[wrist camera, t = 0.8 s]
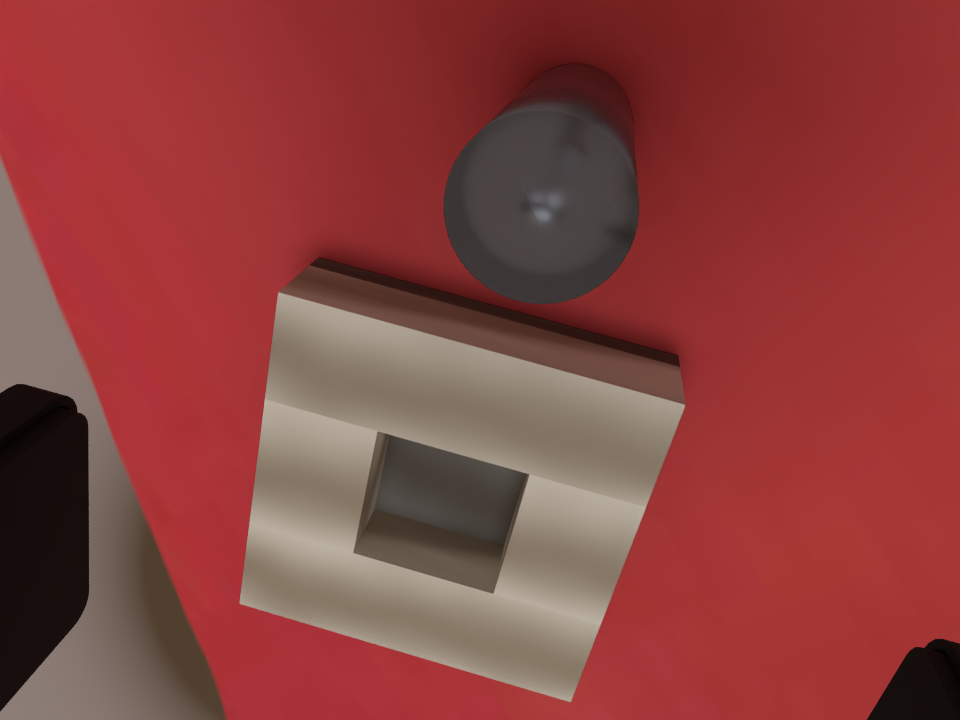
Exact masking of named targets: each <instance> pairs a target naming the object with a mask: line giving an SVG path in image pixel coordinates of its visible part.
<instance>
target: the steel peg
mask: <svg viewBox="0 0 960 720" xmlns="http://www.w3.org/2000/svg"><path fill="white" fill-rule="evenodd" d="M638 216H639V197H638V184H637V171H636V158H635V145H634V131H633V118H632V112H631V107H630V104H629V101H628V99H627V97H626V94H625V93H624V91H623V90H622V88H621V87H620V85H619V84H618V83H617V82H616V81H615V80H614V79H613V78H612V77H611V76H609V75H608V74H607V73H605V72H604V71H602V70H600V69H598V68H595V67H592V66H589V65H584V64H565V65H561V66H557V67H554V68H551V69H549V70H547V71H545V72H544V73H542V74H541V75H539V76H538V77H537V78H535V79H534V80H533V81H532V82H531V83H530V84H529V85H528V86H527V87H526V88H525V89H524V90H523V91H522V92H521V93H520V94H519V95H518V96H517V97H515V98H514V99H513V100H512V101H511V102H510V103H509V104H508V105H507V106H506V107H505V108H504V109H503V110H502V111H501V112H500V113H499V114H498V115H497V116H496V117H495V118H493V119H492V120H491V121H490V122H489V123H488V124H487V125H486V126H485V127H484V128H483V129H482V130H481V131H480V132H479V133H478V134H477V135H476V136H475V137H474V138H473V139H471V140H470V141H469V142H468V144H467V145H466V146H465V147H464V149H463V150H462V151H461V153H460V154H459V156H458V158H457V159H456V161H455V163H454V165H453V167H452V169H451V172H450V174H449V177H448V181H447V184H446V189H445V196H444V217H445V225H446V229H447V232H448V236H449V239H450V241H451V244H452V246H453V249H454V250H455V252H456V254H457V256H458V258H459V259H460V261H461V262H462V263H463V265H464V266H465V267H466V269H467V270H468V271H469V272H470V273H471V274H472V275H473V276H474V277H475V278H476V279H477V280H478V281H480V282H481V283H482V284H483V285H485V286H486V287H488V288H489V289H491V290H492V291H494V292H496V293H498V294H500V295H502V296H504V297H507V298H510V299H513V300H516V301H521V302H526V303H534V304H552V303H558V302H564V301H568V300H571V299H574V298H577V297H579V296H582V295H584V294H586V293H588V292H590V291H591V290H593V289H595V288H596V287H598V286H599V285H601V284H602V283H603V282H604V281H606V280H607V279H608V278H609V277H610V276H611V275H612V274H613V273H614V272H615V271H616V270H617V268H618V267H619V266H620V264H621V263H622V262H623V260H624V259H625V257H626V255H627V253H628V251H629V250H630V247H631V245H632V242H633V240H634V237H635V233H636V229H637V225H638Z"/></svg>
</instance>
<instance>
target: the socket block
mask: <svg viewBox="0 0 960 720" xmlns="http://www.w3.org/2000/svg"><path fill="white" fill-rule="evenodd" d="M685 405H686V404H685V397H684V391H683V384H682V378H681V371H680V365H679V358H678V356H677V355H673V354H669V353H666V352H662V351H658V350H655V349H651V348H647V347H644V346H640V345H636V344H633V343H629V342H625V341H622V340H618V339H614V338H611V337H607V336H603V335H600V334H596V333H592V332H589V331H585V330H582V329H578V328H574V327H571V326H567V325H563V324H560V323H556V322H552V321H549V320H545V319H541V318H538V317H534V316H530V315H527V314H523V313H519V312H516V311H512V310H508V309H505V308H501V307H497V306H494V305H490V304H486V303H483V302H479V301H476V300H472V299H468V298H465V297H461V296H457V295H454V294H450V293H446V292H443V291H439V290H435V289H432V288H428V287H424V286H421V285H417V284H413V283H410V282H406V281H402V280H399V279H395V278H391V277H388V276H384V275H381V274H377V273H373V272H370V271H366V270H362V269H359V268H355V267H351V266H348V265H344V264H340V263H337V262H333V261H329V260H326V259H322V258H318V259H316V260H315V261H314V262H313V263H312V264H311V265H309V266H308V267H307V268H306V269H305V270H304V271H302V272H301V273H300V274H299V275H298V276H297V277H295V278H294V279H293V280H292V281H291V282H290V283H289V284H287V285H286V286H285V287H284V288H283V289H282V290H280V291H279V292H278V299H277V307H276V315H275V323H274V331H273V339H272V347H271V355H270V363H269V371H268V379H267V387H266V395H265V403H264V411H263V419H262V428H261V436H260V444H259V452H258V460H257V468H256V476H255V484H254V492H253V500H252V508H251V516H250V524H249V532H248V540H247V548H246V556H245V564H244V572H243V580H242V588H241V596H240V604H242V605H245V606H249V607H252V608H256V609H259V610H262V611H266V612H269V613H272V614H276V615H279V616H282V617H286V618H289V619H293V620H296V621H299V622H303V623H306V624H309V625H313V626H316V627H319V628H323V629H326V630H330V631H333V632H336V633H340V634H343V635H346V636H350V637H353V638H356V639H360V640H363V641H367V642H370V643H373V644H377V645H380V646H383V647H387V648H390V649H393V650H397V651H400V652H404V653H407V654H410V655H414V656H417V657H420V658H424V659H427V660H430V661H434V662H437V663H441V664H444V665H447V666H451V667H454V668H457V669H461V670H464V671H467V672H471V673H474V674H478V675H481V676H484V677H488V678H491V679H494V680H498V681H501V682H504V683H508V684H511V685H515V686H518V687H521V688H525V689H528V690H531V691H535V692H538V693H541V694H545V695H548V696H552V697H555V698H558V699H562V700H565V701H568V702H571V700H572V697H573V695H574V692H575V689H576V687H577V684H578V682H579V679H580V677H581V674H582V671H583V669H584V666H585V664H586V661H587V658H588V656H589V653H590V651H591V648H592V646H593V643H594V640H595V638H596V635H597V633H598V630H599V627H600V625H601V622H602V620H603V617H604V615H605V612H606V609H607V607H608V604H609V602H610V599H611V596H612V594H613V591H614V589H615V586H616V584H617V581H618V578H619V576H620V573H621V571H622V568H623V565H624V563H625V560H626V558H627V555H628V553H629V550H630V547H631V545H632V542H633V540H634V537H635V534H636V532H637V529H638V527H639V524H640V522H641V519H642V516H643V514H644V511H645V509H646V506H647V503H648V501H649V498H650V496H651V493H652V491H653V488H654V485H655V483H656V480H657V478H658V475H659V472H660V470H661V467H662V465H663V462H664V460H665V457H666V454H667V452H668V449H669V447H670V444H671V441H672V439H673V436H674V434H675V431H676V429H677V426H678V423H679V421H680V418H681V416H682V413H683V410H684V408H685Z"/></svg>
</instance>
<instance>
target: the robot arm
mask: <svg viewBox="0 0 960 720" xmlns="http://www.w3.org/2000/svg"><path fill="white" fill-rule="evenodd" d="M88 493H89V492H88V422H87V419H86V417H85V416H84V415H83V414H81V413H78V412H77V406H76V404H75V402H74V400H73V399H71V398H70V397H68V396H64V395H61V394H58V393H54V392H50V391H47V390H43V389H39V388H36V387H32V386H28V385H24V384H16V385H14V386H12V387H10V388H8V389H6V390H5V391H3V392H1V393H0V711H1V710H2V709H3V707H5V705H6V704H7V703H8V702H9V701H10V700H11V698H12V697H13V696H14V695H15V694H16V693H17V691H18V690H19V689H20V688H21V687H22V686H23V685H24V683H25V682H26V681H27V680H28V679H29V677H30V676H31V675H32V674H33V673H34V672H35V671H36V669H37V668H38V667H39V666H40V665H41V664H42V663H43V661H44V660H45V659H46V658H47V657H48V655H49V654H50V653H51V652H52V651H53V650H54V649H55V647H56V646H57V645H58V644H59V643H60V642H61V640H62V639H63V638H64V637H65V636H66V635H67V634H68V632H69V631H70V630H71V629H72V628H73V627H74V625H75V624H76V623H77V621H78V620H79V618H80V617H81V615H82V612H83V611H84V608H85V606H86V603H87V600H88V595H89V508H88V507H89V502H88V501H89V497H88V496H89V494H88ZM867 720H960V644H959V643H955V642H952V641H948V640H944V639H935V640H933V641H931V642H930V643H928V645H927V646H926V647H925V648H922V647H915V648H913V649H912V650H910V652H909V653H908V654H907V655H906V657H905V658H904V660H903V662H902V663H901V665H900V667H899V668H898V670H897V671H896V673H895V675H894V676H893V678H892V680H891V681H890V683H889V685H888V686H887V688H886V689H885V691H884V693H883V694H882V696H881V698H880V699H879V701H878V702H877V704H876V706H875V707H874V709H873V711H872V712H871V714H870V716H869V717H868V719H867Z"/></svg>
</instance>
